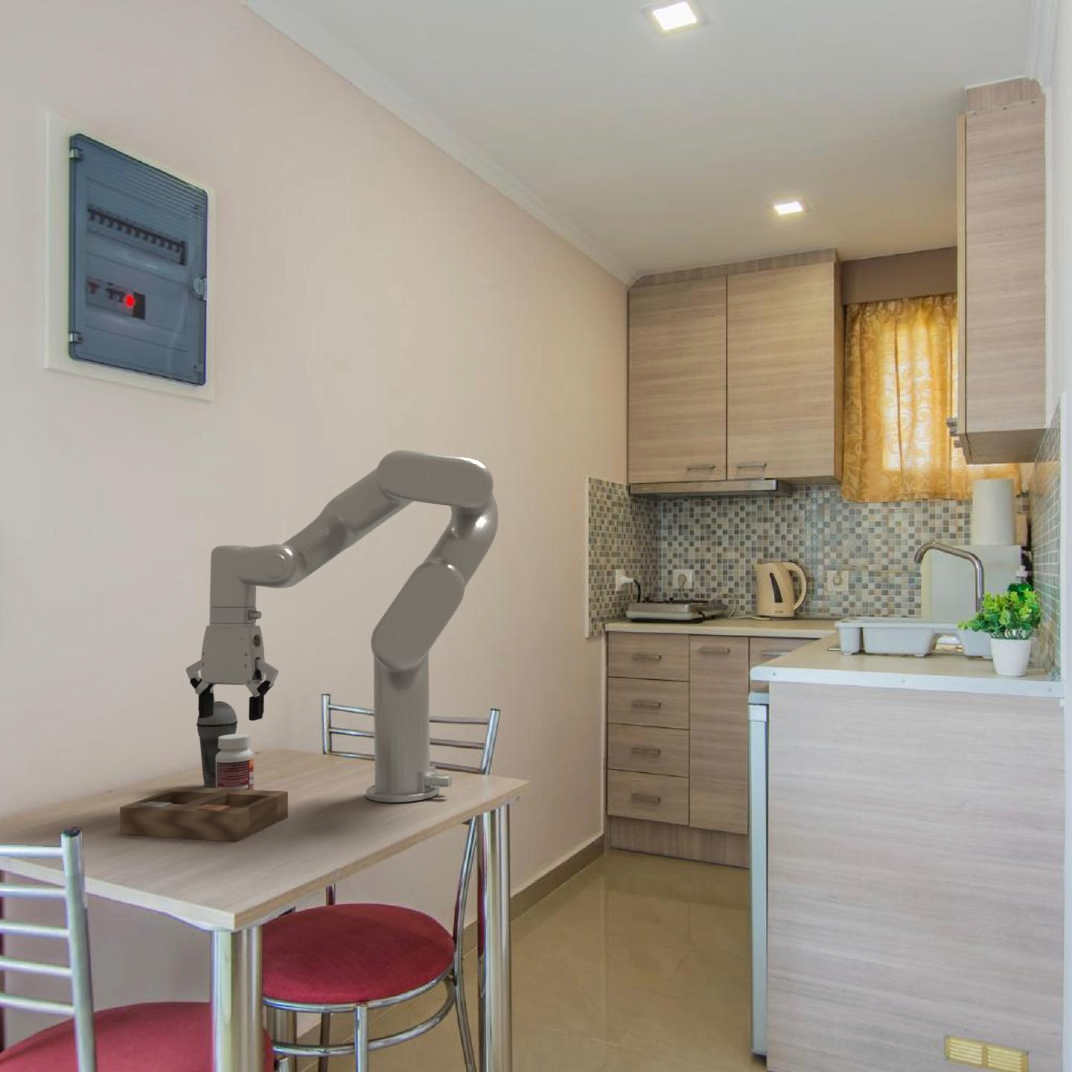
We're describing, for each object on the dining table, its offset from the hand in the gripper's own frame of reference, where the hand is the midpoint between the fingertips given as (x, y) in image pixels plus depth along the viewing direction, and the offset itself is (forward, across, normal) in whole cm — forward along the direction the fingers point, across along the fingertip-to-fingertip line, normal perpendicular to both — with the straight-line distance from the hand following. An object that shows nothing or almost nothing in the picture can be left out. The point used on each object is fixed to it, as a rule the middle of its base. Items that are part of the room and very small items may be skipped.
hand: (230, 718), depth 157 cm
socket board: (+14, -5, +13) cm, 20 cm away
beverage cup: (+15, +10, -11) cm, 21 cm away
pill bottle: (+14, -1, 0) cm, 15 cm away
